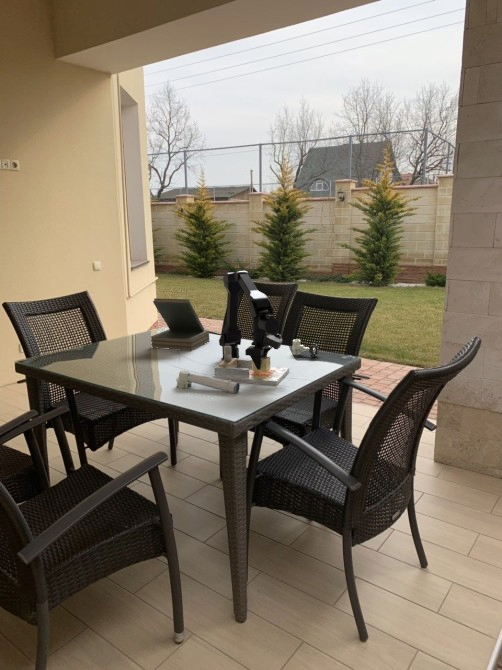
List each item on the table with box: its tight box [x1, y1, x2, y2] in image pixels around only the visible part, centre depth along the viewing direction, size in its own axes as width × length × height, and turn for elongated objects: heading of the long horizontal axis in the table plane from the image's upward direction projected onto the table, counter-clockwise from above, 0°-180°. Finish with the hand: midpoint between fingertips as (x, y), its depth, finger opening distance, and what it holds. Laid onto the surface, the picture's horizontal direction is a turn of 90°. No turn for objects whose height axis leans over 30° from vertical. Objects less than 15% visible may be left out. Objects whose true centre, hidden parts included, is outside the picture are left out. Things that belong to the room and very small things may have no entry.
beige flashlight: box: [175, 370, 241, 394], centre depth 179 cm, size 5×7×25 cm
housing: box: [251, 356, 271, 373], centre depth 192 cm, size 6×5×5 cm
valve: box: [291, 339, 320, 358], centre depth 221 cm, size 7×7×12 cm
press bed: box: [212, 358, 290, 386], centre depth 194 cm, size 26×18×4 cm
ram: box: [218, 346, 238, 368], centre depth 196 cm, size 4×10×10 cm, turn 160°
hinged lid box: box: [150, 298, 210, 351], centre depth 246 cm, size 23×20×25 cm
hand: (261, 367), depth 192 cm, fingers closed on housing, 5 cm apart
